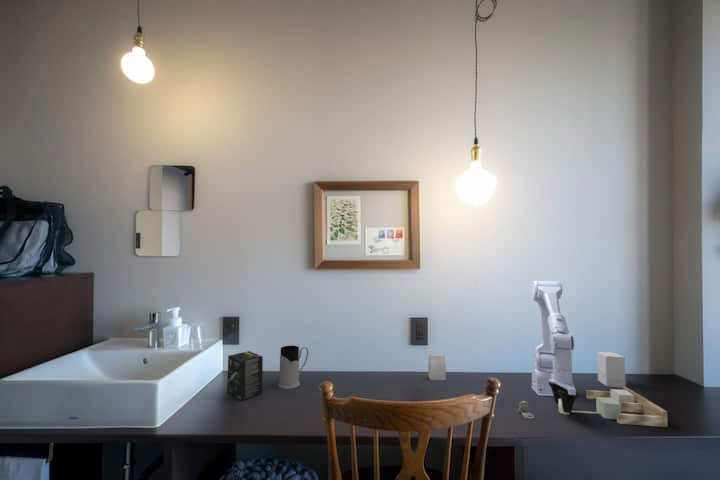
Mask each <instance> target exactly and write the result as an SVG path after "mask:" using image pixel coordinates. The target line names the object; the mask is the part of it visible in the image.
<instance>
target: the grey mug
mask: <svg viewBox="0 0 720 480" xmlns="http://www.w3.org/2000/svg"><path fill="white" fill-rule="evenodd" d="M304 349H305V350H306V356H305V360H304V363H303V364H302V366H301V368H300V359H301V357H302V356H301V355H302V351H303V350H304ZM279 355H280V356H279V381H278V385H277V386H278V388H280V389H284V390H285V389H286V390H288V389H290V390H292V389H295V388H298V387H299V386H300V380H299V379H300V373H301V372H302V370H303V369H304V367H305V365H306V364H307V360H308V357H309V349H308V348H307V347H306V346H303V347H302V348H301V349H300V347H299V346H298V345H284V346H282V347H280V354H279Z"/></svg>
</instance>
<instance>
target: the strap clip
mask: <svg viewBox="0 0 720 480" xmlns="http://www.w3.org/2000/svg"><path fill="white" fill-rule="evenodd" d="M513 408H514V410H516V412H518V413H520V414H521V416H522V417H524V418H525V419H526V420H535V416H534V415H533V414H532V413H531V412H529V402H528V401H526V400H521V401H519V406H514V407H513Z"/></svg>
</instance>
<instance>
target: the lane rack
mask: <svg viewBox="0 0 720 480" xmlns="http://www.w3.org/2000/svg"><path fill="white" fill-rule="evenodd" d="M622 390H626V391H628V392H629V393H631V394H633V395H634V401H635V403H629V402H618V403H620V404H621V413H617V419H616V422H617V423H618V424H621V425H636V426H645V427H647V426H648V427H649V426H650V427H662V428H668V426H669V425H668V411H667V410H665V409H664V408H662V407H660V406H659V405H657V404H655V403H654V402H652V401H651V400H649V399H647V398H646V397H644V396H642V395H641V394H639V393H637V392H635V391H634V390H633V389H631V388H629V387H627V386H626V387H623V388H622ZM585 393H586V396H585V397H586V399H587V400H588V399H589V400H596V397H604V398H611V391H609V390H608V391H606V390H592V389H591V390H590V389H586V391H585ZM622 412H623V413H622ZM624 412H626V413H624ZM634 413H637V414H634Z"/></svg>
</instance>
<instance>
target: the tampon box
mask: <svg viewBox="0 0 720 480" xmlns="http://www.w3.org/2000/svg"><path fill="white" fill-rule="evenodd" d="M263 358H264V357H263V355H260V354H258V353H255V352H252V351H249V350H248V351H244V352H239V353H235V354H230V355H228V358H227V385H226V387H227V391H226V393H227V394H228V395H229V396H231V397H232V398H234V399H235V400H237V401H240V402H241V401H245V400H247V399H251V398H254V397H257V396H260V395H262V394H263V392H264V391H263V377H264V376H263V373H264V372H263V371H264V370H263V369H264V368H263V366H264V365H263V364H264V361H263V360H264V359H263Z"/></svg>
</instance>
